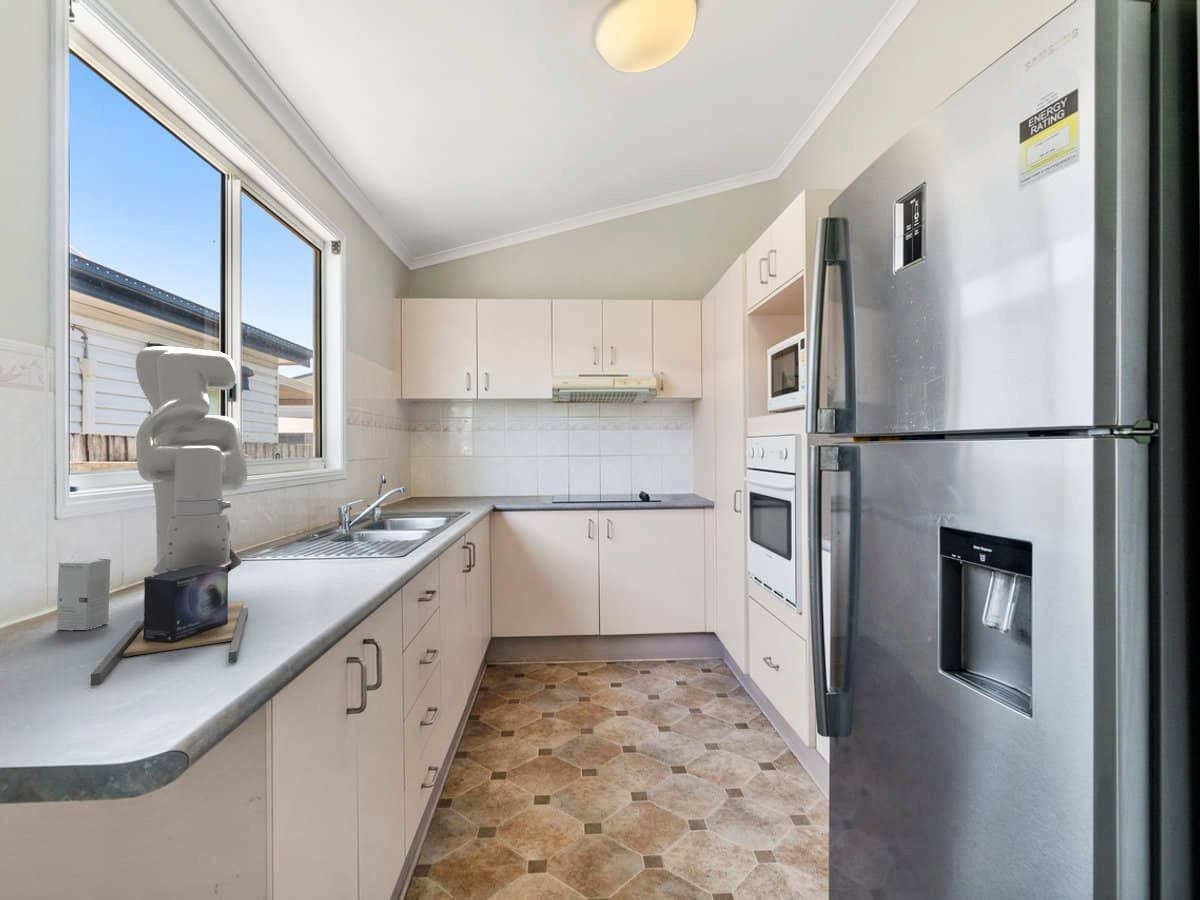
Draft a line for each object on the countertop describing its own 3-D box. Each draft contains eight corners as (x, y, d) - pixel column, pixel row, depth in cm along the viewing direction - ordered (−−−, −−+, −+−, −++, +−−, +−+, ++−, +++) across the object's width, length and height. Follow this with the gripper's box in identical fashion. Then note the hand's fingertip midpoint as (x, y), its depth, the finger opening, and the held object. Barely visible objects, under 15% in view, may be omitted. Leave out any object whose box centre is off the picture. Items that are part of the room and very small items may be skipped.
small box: (174, 644, 88) (173, 579, 87) (141, 641, 89) (140, 577, 89) (230, 623, 98) (230, 565, 98) (200, 621, 99) (199, 563, 99)
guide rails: (136, 629, 97) (136, 621, 97) (247, 615, 105) (247, 607, 105) (90, 685, 74) (90, 674, 74) (236, 661, 82) (236, 651, 82)
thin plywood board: (156, 614, 105) (156, 580, 105) (243, 603, 112) (243, 572, 112) (123, 656, 84) (122, 614, 84) (232, 640, 91) (232, 601, 91)
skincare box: (55, 630, 96) (54, 562, 96) (80, 622, 101) (80, 557, 101) (87, 631, 96) (86, 563, 96) (112, 623, 100) (111, 557, 100)
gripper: (250, 504, 114) (251, 592, 114) (148, 509, 105) (149, 603, 106) (248, 508, 107) (249, 600, 107) (139, 513, 99) (140, 614, 99)
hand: (199, 601), depth 106 cm, fingers closed on thin plywood board, 4 cm apart
